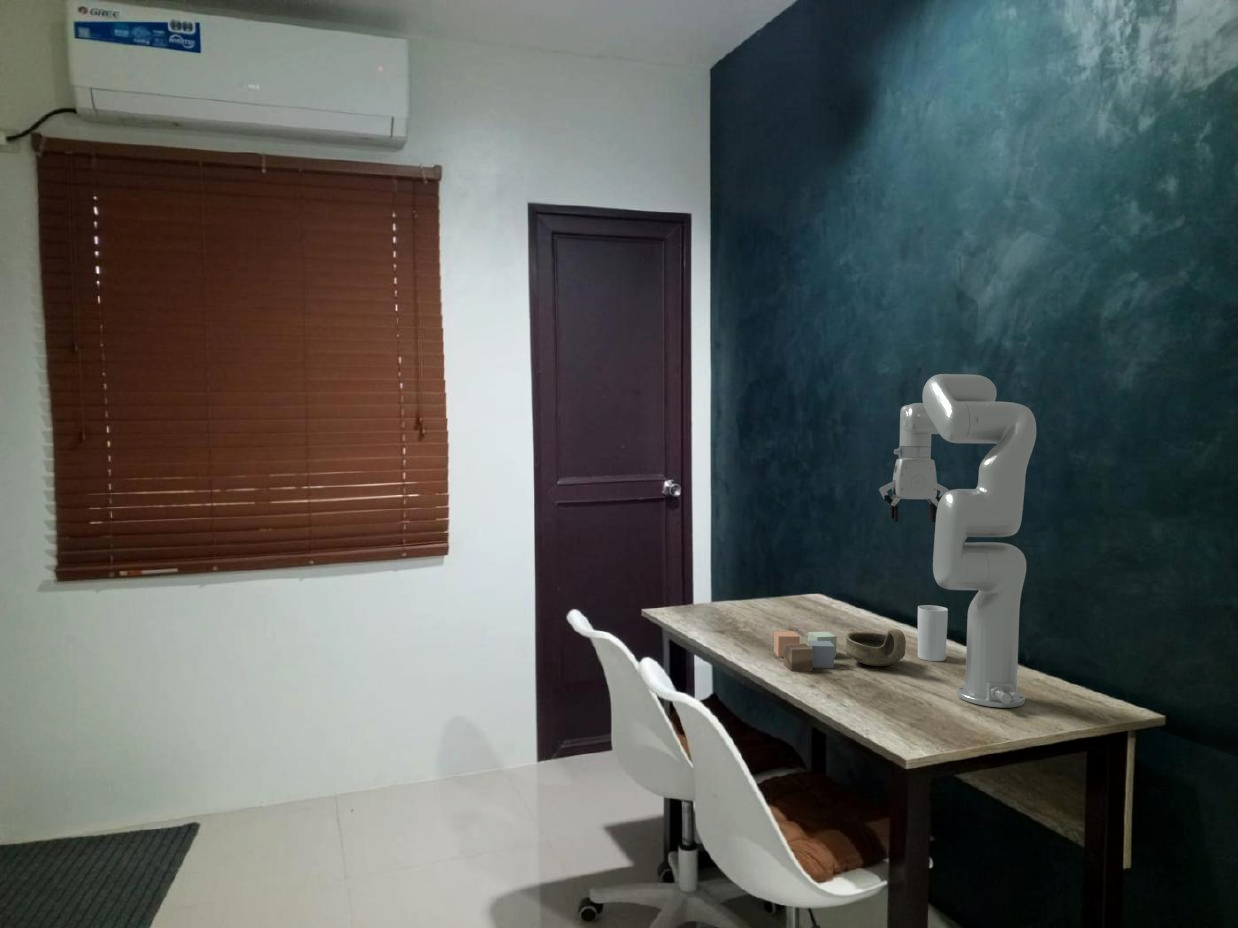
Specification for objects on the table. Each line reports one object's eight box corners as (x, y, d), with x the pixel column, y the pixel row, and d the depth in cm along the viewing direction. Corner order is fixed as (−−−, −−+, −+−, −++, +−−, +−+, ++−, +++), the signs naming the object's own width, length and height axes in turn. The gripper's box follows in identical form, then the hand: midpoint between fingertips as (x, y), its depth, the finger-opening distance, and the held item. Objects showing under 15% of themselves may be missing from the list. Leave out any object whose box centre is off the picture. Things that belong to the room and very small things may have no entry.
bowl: (883, 654, 208) (885, 613, 208) (927, 674, 191) (928, 630, 191) (832, 657, 205) (833, 616, 205) (872, 678, 188) (873, 633, 188)
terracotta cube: (799, 657, 205) (799, 636, 205) (778, 657, 205) (778, 636, 205) (794, 651, 210) (794, 631, 210) (774, 651, 210) (774, 631, 210)
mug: (951, 661, 203) (953, 610, 203) (924, 662, 202) (926, 611, 202) (931, 650, 213) (932, 602, 213) (905, 651, 212) (906, 602, 212)
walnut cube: (812, 670, 194) (813, 648, 193) (791, 671, 193) (791, 649, 193) (804, 664, 199) (804, 643, 198) (783, 665, 198) (784, 643, 198)
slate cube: (833, 668, 196) (834, 646, 196) (811, 667, 197) (812, 645, 196) (829, 662, 201) (830, 641, 201) (808, 661, 202) (808, 640, 201)
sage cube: (836, 657, 206) (836, 636, 206) (816, 657, 205) (817, 637, 205) (826, 651, 211) (826, 631, 211) (807, 652, 210) (807, 632, 210)
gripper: (885, 453, 214) (884, 522, 214) (955, 454, 214) (953, 523, 215) (876, 453, 221) (874, 519, 222) (942, 453, 222) (940, 520, 222)
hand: (913, 521), depth 218 cm, fingers open, 9 cm apart
